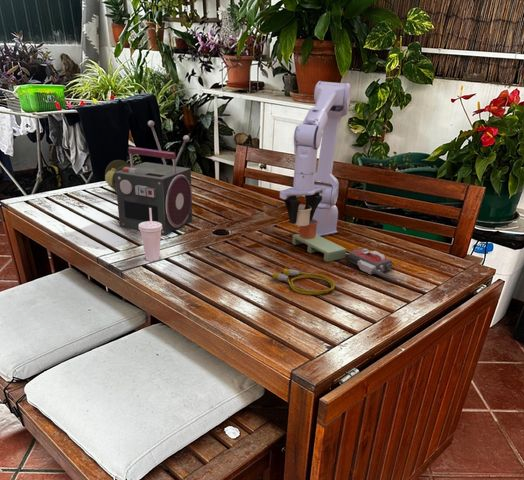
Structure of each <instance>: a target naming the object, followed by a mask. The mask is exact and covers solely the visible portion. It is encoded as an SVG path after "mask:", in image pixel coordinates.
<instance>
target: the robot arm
mask: <svg viewBox="0 0 524 480" xmlns="http://www.w3.org/2000/svg"><path fill="white" fill-rule="evenodd" d="M313 98H314V99H313V100H314V104H315V105H314V106H313V107H311V108H310V109H309V110H308V111H307V114H306V116H305V117H304V119H303V121H302V123H299V124H298V125H296V126H295V129H294V133H293V148H294V149H293V152H294V154H295V157H294V171H293V183H292V187H288V188H286V189H282V190H279V199H282V200H283V203H284V205H285V207H286V212H287V215H288V221H289V223H291V224H292V223H293V224H292V225H294V224H296V220H297V212H298V208H299V205H300V204H301V201H302V200H299V199H298V198H299V197H304V200H305V205H308V206H310V207H312V210H311V212H310V221H312V219H314V220H317V221H318V224H317V228H316V235H318V236H321V237H322V236H327V235H332V234H333V235H334V234H337V233H339V231H338V230H337V228H338V227H337V226H338V219H339V210H338V207H337V206H336V203H337V201H338V198H339V186H340V183H339V180H338V178H336V176H335V175H333V167H334V161H335V154H336V149H337V143H338V142H337V141H338V135H339V129H340V125H341V120H342V117H345V116H347V115H348V112H349V109H350V103H351V98H352V85H351V83H349V82H347V83H345V82H344V83H343V82H342V83H341V82H332V81H331V82H330V81H322V80H319V81H318V82H317V83H316V84H315V87H314V92H313ZM318 151H319V154H318ZM318 155H319V156H318ZM317 159H318V161H317ZM316 169H317V170H316Z"/></svg>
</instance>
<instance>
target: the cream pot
mask: <svg viewBox="0 0 524 480" xmlns="http://www.w3.org/2000/svg"><path fill="white" fill-rule="evenodd" d="M311 210H312V207H310V206H308V205H306V204H301V203H300V205H299V208H298V212H297V220H296V224H293V223H291V224H292V225H294V226H297V227H300V226H307V225H309V222H310V212H311Z"/></svg>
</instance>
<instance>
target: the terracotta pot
mask: <svg viewBox="0 0 524 480" xmlns="http://www.w3.org/2000/svg"><path fill="white" fill-rule="evenodd" d="M317 224H318V221H317V220H314V219H312V221H310V222H309V225H307V226H299V233H298V234H299V236H300V237H302V238H306V239H312V238H315V237H316V228H317Z"/></svg>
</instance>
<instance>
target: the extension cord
mask: <svg viewBox="0 0 524 480" xmlns="http://www.w3.org/2000/svg"><path fill="white" fill-rule="evenodd" d="M295 276H296V277H295ZM289 277H293V278H291V279H289ZM306 278H307V279H308V278H311V279H318V280H321V281H325V282H327V283H329V285H330V288H328V289H323V290H313V289H311V290H310V289H304V288H299V287H297V286H296V285H295V284H294V282H295V281H298V280H301V279H306ZM272 279H274V280H277V281H280V282H287V283H288V285H289V287H290V288H291V290H293V291H294V292H296V293H299V294H302V295H309V296H311V295H313V296H314V295H315V296H317V295H323V294H328V293H330V292H331V291H333V290H334V289H335V286H336V285H335V281H334V280H333V279H332V278H331V277H328V276H326V275H323V274H320V273H319V274H318V273H313V272H312V273H310V272H300V270H296V269H292V268H286V267H285V268H283V272H282V273H280V272H279V273H278V272H273V274H272Z"/></svg>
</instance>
